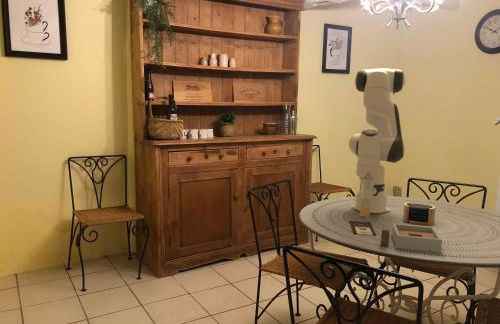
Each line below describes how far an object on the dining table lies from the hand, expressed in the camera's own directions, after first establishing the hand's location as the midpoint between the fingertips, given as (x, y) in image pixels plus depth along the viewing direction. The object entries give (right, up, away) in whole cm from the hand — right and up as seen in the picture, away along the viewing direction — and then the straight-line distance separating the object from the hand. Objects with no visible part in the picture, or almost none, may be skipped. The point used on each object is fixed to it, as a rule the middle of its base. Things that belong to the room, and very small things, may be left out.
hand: (365, 205), depth 167 cm
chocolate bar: (+3, -12, +15) cm, 20 cm away
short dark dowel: (+6, -15, -5) cm, 17 cm away
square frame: (+19, -15, -2) cm, 24 cm away
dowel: (0, -4, +1) cm, 4 cm away
